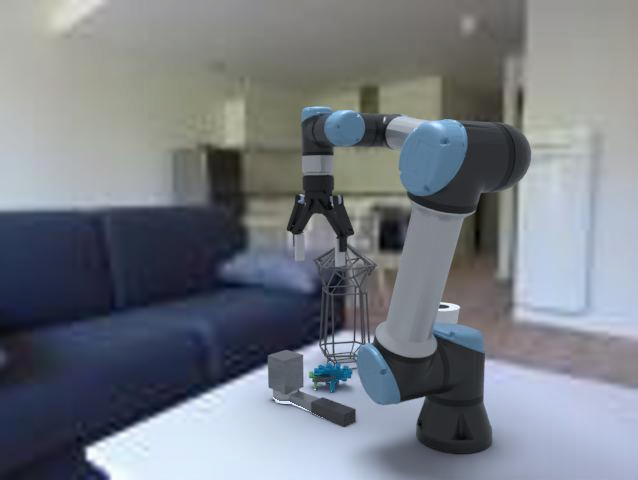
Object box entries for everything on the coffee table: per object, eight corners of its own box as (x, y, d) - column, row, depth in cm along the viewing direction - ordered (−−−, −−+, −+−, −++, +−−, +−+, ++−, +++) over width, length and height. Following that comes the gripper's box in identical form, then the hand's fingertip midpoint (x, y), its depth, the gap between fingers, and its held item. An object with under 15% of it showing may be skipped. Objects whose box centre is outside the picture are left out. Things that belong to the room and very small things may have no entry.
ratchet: (359, 419, 126) (359, 388, 125) (339, 428, 121) (339, 397, 121) (287, 392, 142) (286, 365, 142) (267, 399, 138) (266, 371, 137)
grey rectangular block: (303, 387, 138) (303, 354, 137) (285, 394, 133) (284, 360, 132) (286, 381, 142) (286, 349, 141) (268, 387, 138) (267, 355, 137)
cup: (417, 375, 153) (417, 309, 151) (421, 363, 163) (422, 301, 161) (457, 379, 150) (458, 312, 148) (460, 366, 160) (461, 303, 158)
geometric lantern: (313, 358, 168) (311, 241, 164) (364, 355, 171) (364, 239, 167) (323, 377, 153) (321, 247, 149) (379, 372, 156) (379, 245, 152)
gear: (356, 376, 148) (347, 358, 141) (356, 398, 144) (347, 381, 137) (314, 379, 151) (304, 362, 143) (314, 401, 147) (303, 384, 139)
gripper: (369, 173, 129) (369, 266, 131) (293, 174, 146) (295, 256, 149) (347, 173, 123) (347, 270, 126) (271, 175, 141) (273, 260, 143)
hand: (319, 263), depth 137 cm, fingers open, 13 cm apart
